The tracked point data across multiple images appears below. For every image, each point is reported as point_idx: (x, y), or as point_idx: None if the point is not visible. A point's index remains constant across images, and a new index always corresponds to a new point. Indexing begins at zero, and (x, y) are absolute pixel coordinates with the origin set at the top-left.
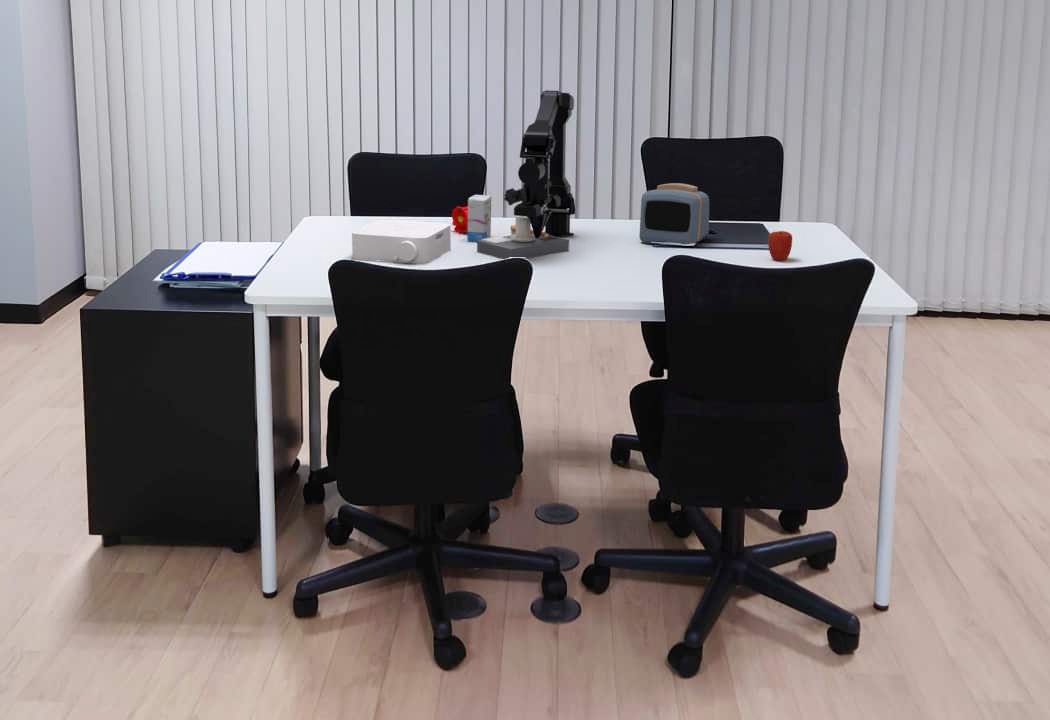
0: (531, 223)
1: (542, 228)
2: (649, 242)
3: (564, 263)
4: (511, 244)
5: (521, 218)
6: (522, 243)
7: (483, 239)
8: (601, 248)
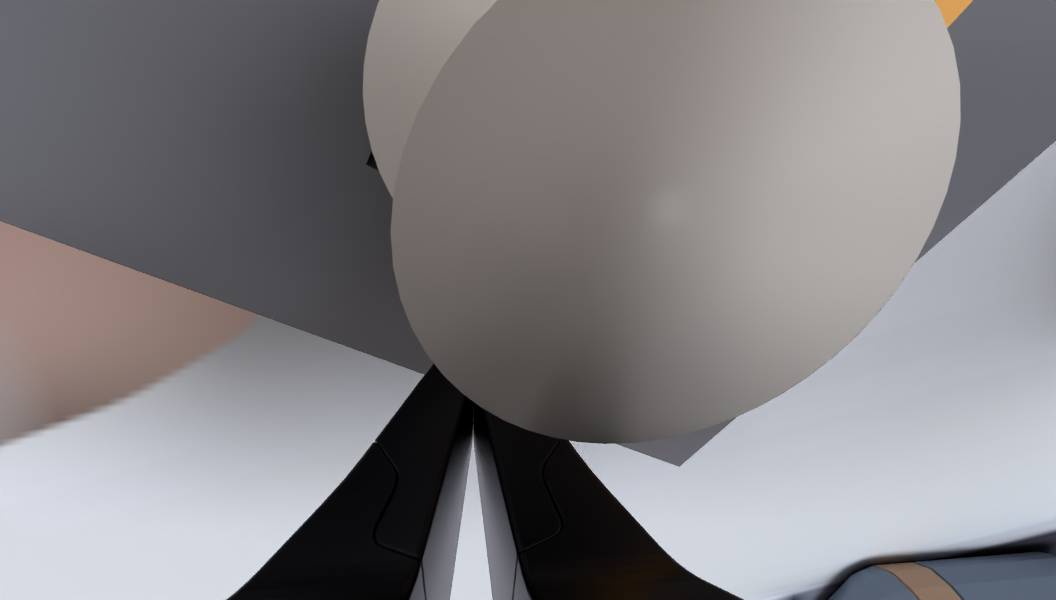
0: (340, 493)
1: (480, 495)
2: (841, 590)
3: (277, 487)
4: (165, 51)
5: (532, 253)
6: (336, 186)
7: None
8: (743, 496)
